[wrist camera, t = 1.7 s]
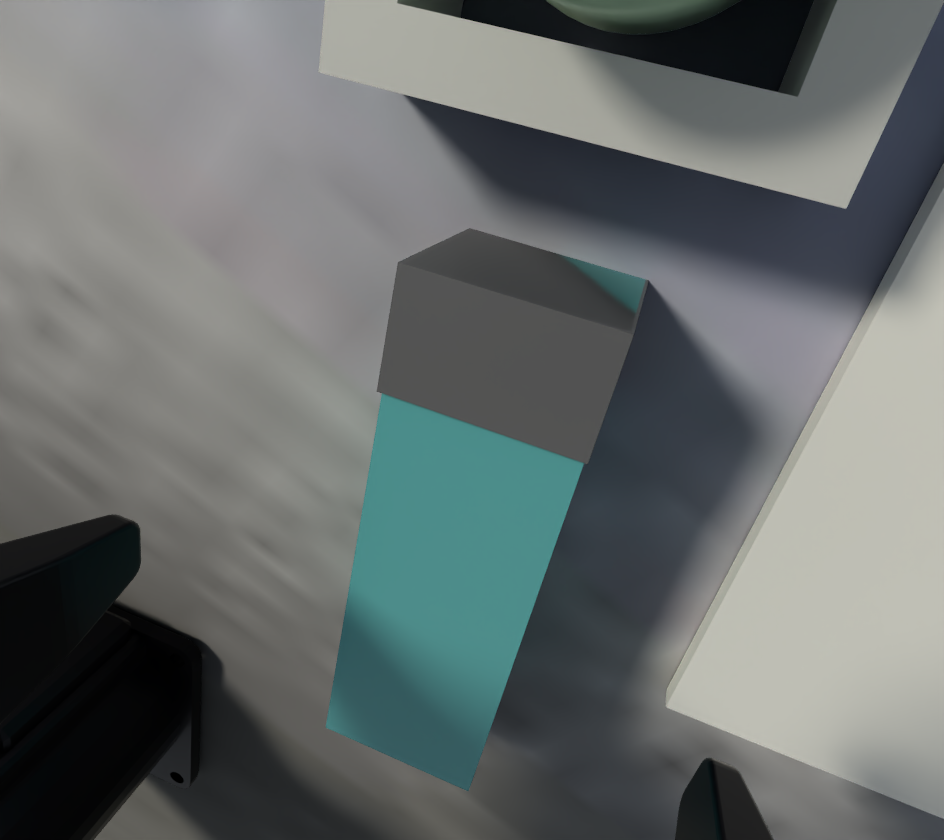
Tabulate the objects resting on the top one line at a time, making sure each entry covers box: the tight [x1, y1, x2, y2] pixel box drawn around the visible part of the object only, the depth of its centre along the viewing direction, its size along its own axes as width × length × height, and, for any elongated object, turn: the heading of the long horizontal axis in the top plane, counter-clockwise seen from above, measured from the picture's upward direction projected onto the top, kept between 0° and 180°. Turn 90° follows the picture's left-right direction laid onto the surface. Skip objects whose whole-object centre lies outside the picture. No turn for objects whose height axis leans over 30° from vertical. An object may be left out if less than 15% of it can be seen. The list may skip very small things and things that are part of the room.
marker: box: [326, 228, 649, 791], centre depth 13 cm, size 11×3×3 cm, turn 167°
